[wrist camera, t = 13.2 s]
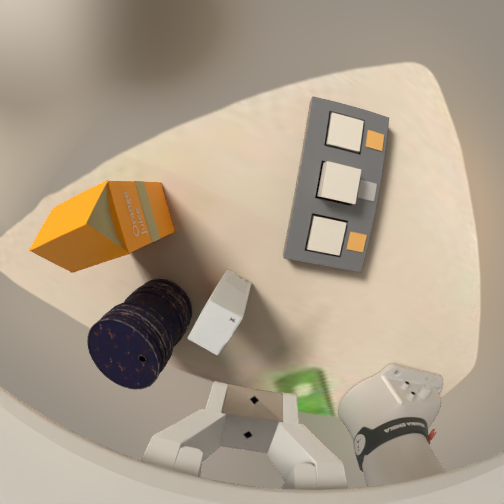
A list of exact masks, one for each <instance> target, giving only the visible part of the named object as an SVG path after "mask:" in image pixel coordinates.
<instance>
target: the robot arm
mask: <svg viewBox="0 0 504 504" xmlns="http://www.w3.org/2000/svg"><path fill="white" fill-rule="evenodd" d="M396 371H397V372H396ZM442 385H443V378H442V377H441V376H440V375H437V374H433V373H429V372H425V371H421V370H417V369H413V368H409V367H405V366H401V365H397V364H390V365H388V366H386V367H385V368H384V369H383V370H382V371H380V372H379V373H378V374H376V375H375V376H372V377H370V378H368V379H366V380H364V381H362V382H360V383H359V384H357V385H356V386H354V387H353V388H352V389H351V390H350V391H349V392H348V393H347V394H346V395H345V396H344V397H343V399H342V401H341V403H340V405H339V409H338V414H339V418H340V420H341V421H342V422H343V423H344V425H345V426H346V428H347V429H348V431H349V433H350V435H351V437H352V439H353V441H354V449H355V454H356V457H357V461H358V464H359V467H360V470H361V471H362V472H364V477H365V481H366V485H367V487H362V488H350V489H348V488H347V482H346V477H345V471H344V467H343V463H342V462H341V461H340V460H339V459H338V458H337V457H336V456H335V455H334V454H333V453H332V452H331V451H329V450H328V449H327V448H326V447H325V446H324V445H323V444H322V443H321V442H320V441H319V440H318V439H317V438H316V437H315V436H314V435H313V434H312V433H311V432H310V431H309V430H308V429H307V428H306V427H305V426H304V425H303V424H299V416H298V406H297V396H296V394H291V393H279V392H271V391H264V390H257V389H252V388H247V387H241V386H237V385H232V384H226V383H222V382H217V381H214V382H213V385H212V388H211V392H210V395H209V398H208V402H207V405H206V408H205V410H204V409H200V410H198V411H196V412H195V413H193V414H191V415H189V416H188V417H186V418H185V419H183V420H181V421H179V422H177V423H175V424H173V425H172V426H170V427H168V428H166V429H164V430H162V431H161V432H159V433H157V434H155V435H153V436H152V438H151V440H150V443H149V445H148V447H147V449H146V451H145V453H144V455H143V457H142V459H141V460H138V459H135V458H132V457H129V456H127V455H124V454H122V453H119V452H116V451H114V450H112V449H109V448H107V447H104V446H102V445H100V444H98V443H95V442H93V441H91V440H89V439H87V438H85V437H83V436H81V435H79V434H77V433H75V432H73V431H71V430H69V429H67V428H65V427H63V426H62V425H59V424H58V423H56V422H54V421H52V420H51V419H49V418H47V417H46V416H44V415H42V414H41V413H39V412H38V411H36V410H34V409H33V408H31V407H29V406H28V405H27V404H25V403H24V402H22V401H21V400H19V399H18V398H16V397H15V396H14V395H12V394H11V393H9V392H8V391H7V390H5V389H4V388H2V387H1V386H0V504H504V451H502V452H500V453H498V454H496V455H493V456H491V457H488V458H486V459H483V460H480V461H478V462H475V463H472V464H469V465H466V466H463V467H460V468H457V469H454V470H450V471H447V470H446V469H445V468H444V467H443V466H442V465H441V463H440V462H439V460H438V459H437V457H436V456H435V454H434V452H433V451H432V449H431V447H430V445H429V444H430V441H431V440H432V438H433V437H434V436H435V434H436V432H435V433H434V430H435V429H433V430H432V431H431V433H430V434H429V435H428V428H429V427H430V425H431V424H432V422H433V421H434V419H435V418H436V416H437V414H438V412H439V409H440V407H441V398H440V396H439V394H440V392H441V389H442ZM433 433H434V434H433ZM220 446H223V447H229V448H236V449H244V450H250V451H256V452H263V453H267V455H268V456H269V458H270V460H271V461H272V463H273V464H274V466H275V467H276V469H277V470H278V472H279V473H280V475H281V476H282V478H283V479H284V481H285V483H284V485H283V486H282V488H281V489H276V488H265V487H254V486H246V485H239V484H233V483H226V482H220V481H215V480H210V479H205V478H201V477H200V475H201V465H202V462H203V461H204V460H205V459H206V458H208V457H209V456H210V455H211V454H212V453H214V452H215V451H216V450H217V449H218V448H219V447H220Z"/></svg>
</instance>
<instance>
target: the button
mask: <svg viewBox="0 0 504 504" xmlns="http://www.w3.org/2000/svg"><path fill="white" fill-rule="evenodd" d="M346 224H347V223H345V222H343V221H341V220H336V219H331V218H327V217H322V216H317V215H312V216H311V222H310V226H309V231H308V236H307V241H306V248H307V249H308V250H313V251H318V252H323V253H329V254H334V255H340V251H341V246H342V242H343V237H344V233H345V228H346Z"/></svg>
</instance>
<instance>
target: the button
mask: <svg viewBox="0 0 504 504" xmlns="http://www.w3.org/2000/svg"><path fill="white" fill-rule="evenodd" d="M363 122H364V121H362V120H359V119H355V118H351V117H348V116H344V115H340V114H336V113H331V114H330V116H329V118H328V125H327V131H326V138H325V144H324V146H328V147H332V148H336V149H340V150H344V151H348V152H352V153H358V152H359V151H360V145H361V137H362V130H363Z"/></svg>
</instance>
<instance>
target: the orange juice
mask: <svg viewBox="0 0 504 504" xmlns="http://www.w3.org/2000/svg"><path fill="white" fill-rule="evenodd" d="M173 232H175V229H174V226H173V222H172V219H171V216H170V212H169V209H168V205H167V202H166V198H165V195H164V191H163V188H162V184H161V183H160V182H144V181H134V182H131V181H108V180H107V181H105V182H103V183H101V184H99V185H97V186H95V187H92V188H90V189H88V190H86V191H84V192H82V193H81V194H79V195H77V196H75V197H73V198H71V199H69V200H67V201H65V202H63V203H62V204H60V205H58V206H56V207H54V208H53V209H52V211H51V213H50V214H49V216H48V218H47V219H46V221H45V223H44V224H43V226H42V228H41V230H40V231H39V233H38V235H37V237H36V239H35V240H34V242H33V244H32V246H31V248H30V250H29V251H32V252H33V253H35V254H37V255H39V256H41V257H43V258H45V259H47V260H49V261H51V262H53V263H54V264H56V265H58V266H60V267H62V268H64V269H66V270H69V271H70V272H76V271H79V270H82V269H85V268H88V267H91V266H94V265H97V264H100V263H103V262H106V261H109V260H112V259H115V258H118V257H121V256H124V255H127V254H130V253H131V252H133V251H135V250H137V249H139V248H141V247H143V246H145V245H147V244H150V243H152V242H155V241H157V240H159V239H161V238H162V237H165V236H167V235H169V234H171V233H173Z"/></svg>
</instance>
